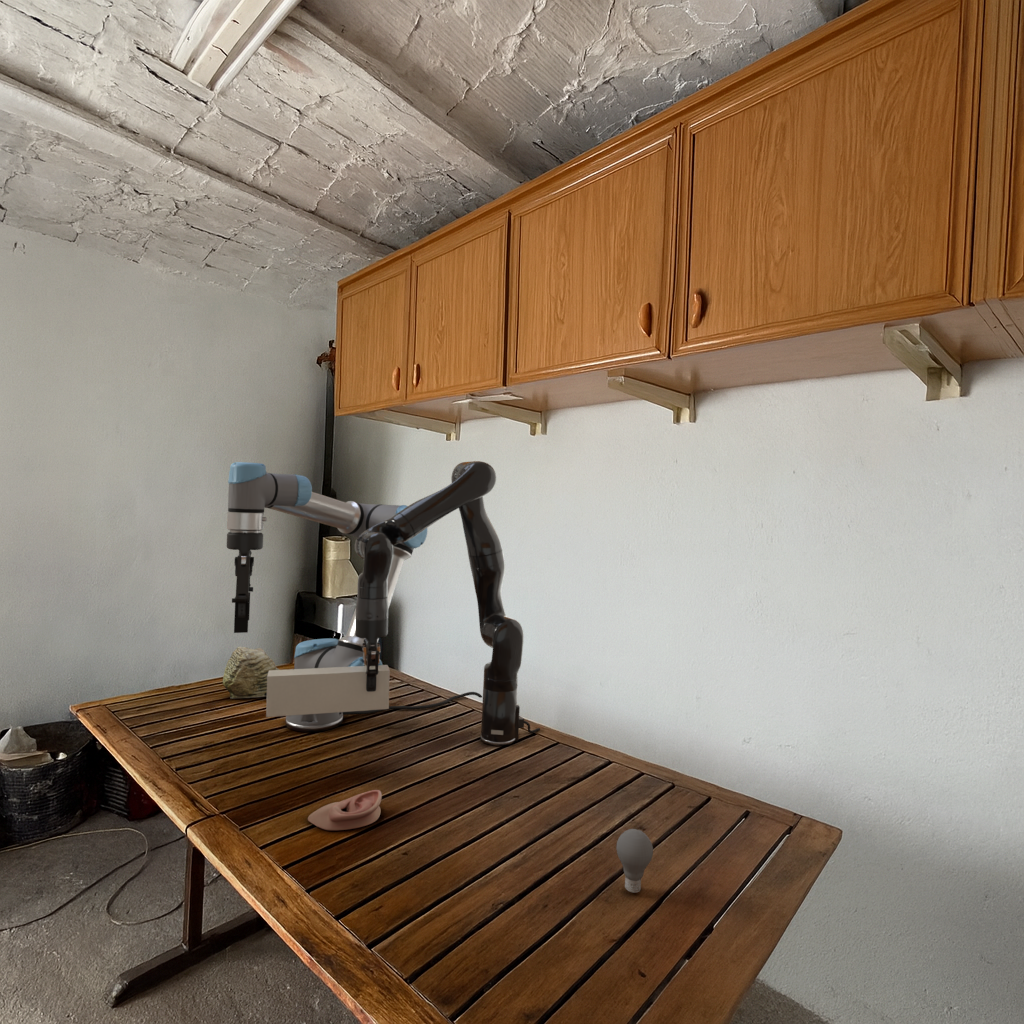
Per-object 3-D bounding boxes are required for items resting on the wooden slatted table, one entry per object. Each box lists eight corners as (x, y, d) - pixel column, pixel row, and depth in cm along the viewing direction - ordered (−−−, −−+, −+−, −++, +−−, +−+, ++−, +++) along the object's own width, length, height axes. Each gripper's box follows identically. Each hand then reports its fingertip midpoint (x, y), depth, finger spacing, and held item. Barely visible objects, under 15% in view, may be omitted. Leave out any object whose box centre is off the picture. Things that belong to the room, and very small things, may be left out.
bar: (266, 717, 141) (267, 676, 141) (267, 709, 146) (268, 670, 145) (388, 709, 149) (389, 670, 148) (386, 702, 153) (387, 664, 153)
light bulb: (610, 879, 108) (613, 822, 108) (644, 879, 109) (647, 822, 109) (619, 902, 102) (622, 840, 102) (655, 901, 103) (658, 840, 103)
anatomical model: (300, 805, 121) (329, 780, 132) (299, 826, 121) (328, 798, 133) (364, 815, 119) (388, 788, 130) (363, 836, 119) (387, 807, 130)
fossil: (218, 695, 195) (220, 647, 195) (278, 685, 208) (279, 640, 207) (228, 703, 189) (230, 653, 188) (289, 692, 201) (290, 645, 201)
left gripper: (263, 535, 131) (259, 637, 132) (263, 528, 155) (260, 615, 155) (223, 534, 129) (219, 638, 129) (229, 527, 152) (226, 616, 152)
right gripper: (391, 621, 144) (389, 696, 144) (385, 610, 157) (383, 678, 158) (357, 622, 141) (355, 698, 142) (354, 610, 155) (352, 679, 155)
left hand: (241, 626), depth 142 cm, fingers open, 13 cm apart
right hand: (370, 687), depth 150 cm, fingers closed on bar, 5 cm apart
